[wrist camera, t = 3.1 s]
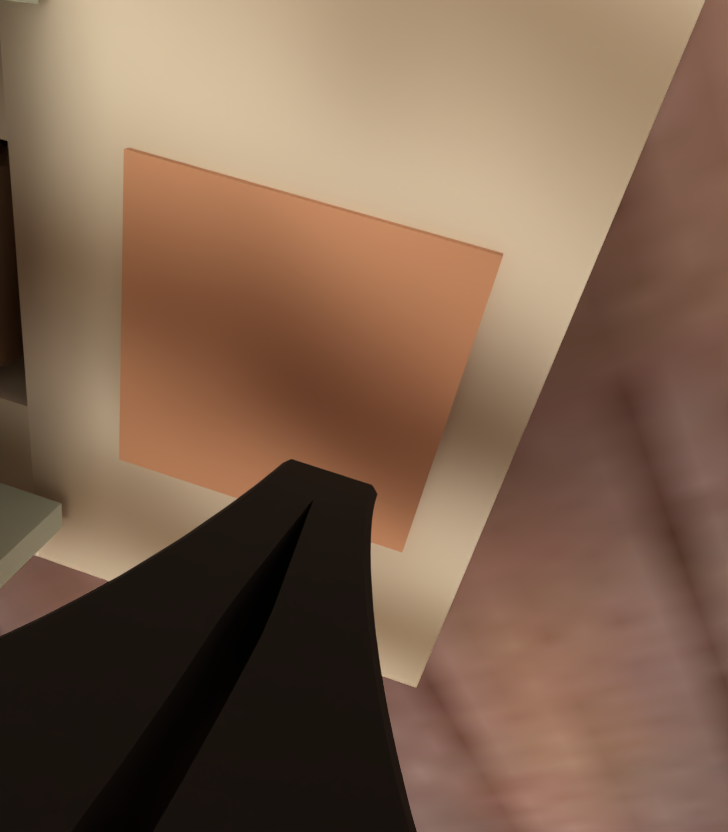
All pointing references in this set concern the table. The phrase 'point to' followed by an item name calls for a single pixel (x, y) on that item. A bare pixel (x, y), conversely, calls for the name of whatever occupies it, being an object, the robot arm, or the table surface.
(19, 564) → the slide cover
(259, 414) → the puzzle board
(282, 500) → the robot arm
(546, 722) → the table surface
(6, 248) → the walnut block
